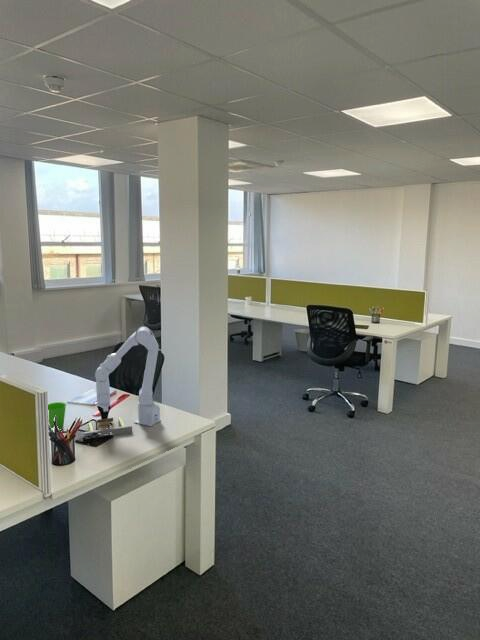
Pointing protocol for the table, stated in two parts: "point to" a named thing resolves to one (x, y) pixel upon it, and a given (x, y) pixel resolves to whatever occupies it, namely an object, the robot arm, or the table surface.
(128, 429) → the bay
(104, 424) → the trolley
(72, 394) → the table surface
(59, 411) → the cup
